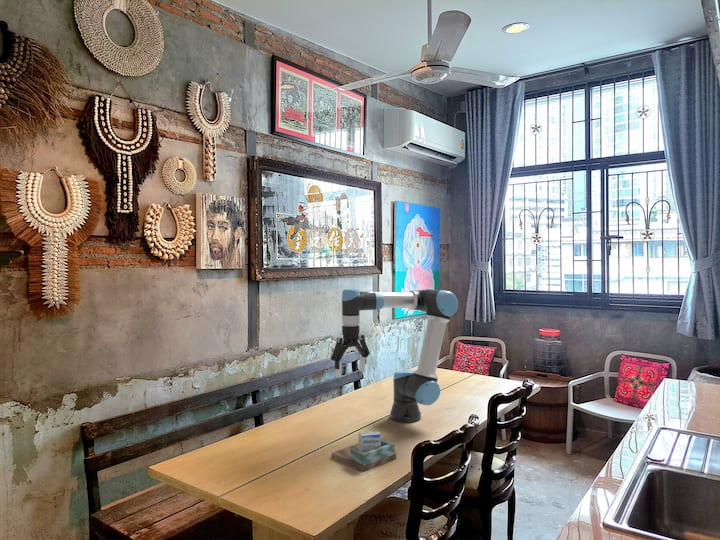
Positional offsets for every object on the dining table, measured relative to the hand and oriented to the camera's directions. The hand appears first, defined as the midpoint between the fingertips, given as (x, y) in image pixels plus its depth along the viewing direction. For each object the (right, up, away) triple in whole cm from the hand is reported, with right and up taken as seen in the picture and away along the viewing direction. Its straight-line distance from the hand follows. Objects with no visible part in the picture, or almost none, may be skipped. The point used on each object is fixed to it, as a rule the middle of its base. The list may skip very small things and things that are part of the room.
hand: (350, 374), depth 216 cm
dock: (+5, -29, -19) cm, 35 cm away
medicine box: (+8, -27, -21) cm, 35 cm away
